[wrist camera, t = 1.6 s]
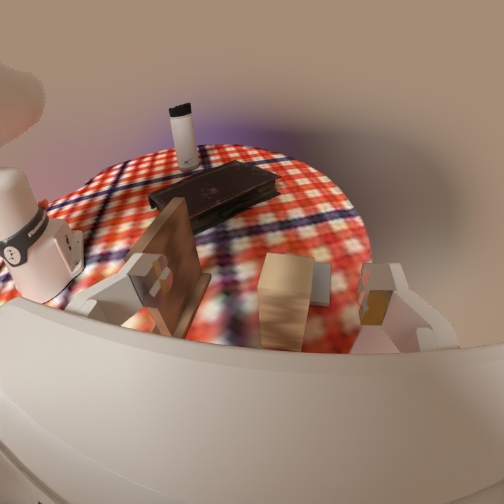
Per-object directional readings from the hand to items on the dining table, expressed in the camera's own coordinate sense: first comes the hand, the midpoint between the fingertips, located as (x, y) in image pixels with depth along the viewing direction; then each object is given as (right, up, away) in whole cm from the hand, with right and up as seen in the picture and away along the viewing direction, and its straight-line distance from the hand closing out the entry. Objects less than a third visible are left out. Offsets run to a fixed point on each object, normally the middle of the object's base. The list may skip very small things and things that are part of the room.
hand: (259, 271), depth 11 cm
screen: (-10, -7, +27) cm, 30 cm away
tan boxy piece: (+4, -10, +23) cm, 25 cm away
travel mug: (-19, +26, +67) cm, 75 cm away
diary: (-9, +12, +50) cm, 53 cm away
